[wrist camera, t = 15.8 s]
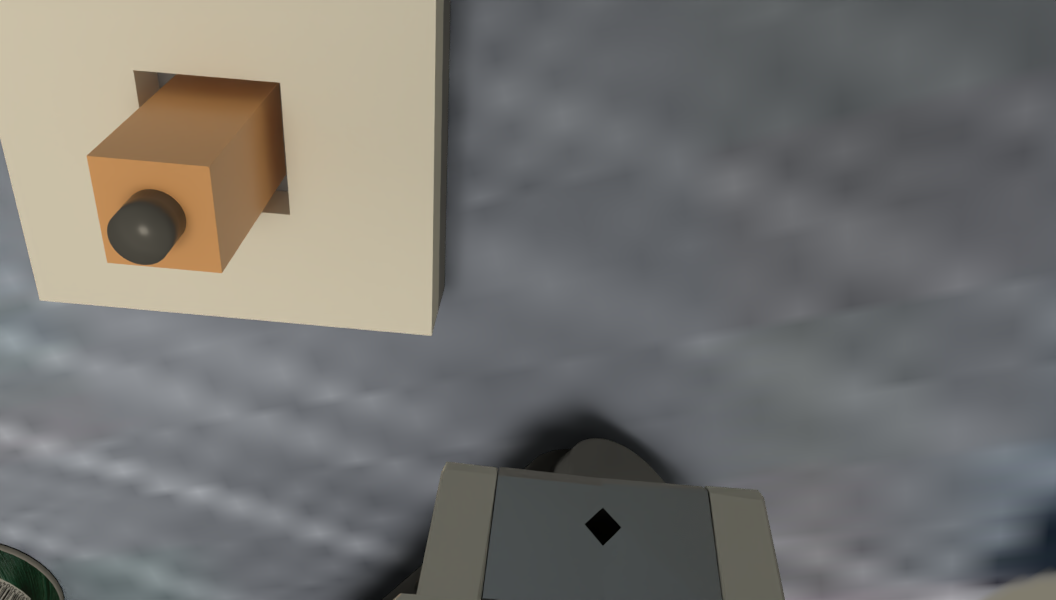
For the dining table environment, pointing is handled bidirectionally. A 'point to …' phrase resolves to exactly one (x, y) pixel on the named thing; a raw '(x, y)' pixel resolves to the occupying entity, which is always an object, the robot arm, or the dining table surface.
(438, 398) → the dining table surface
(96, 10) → the socket block
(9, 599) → the canned tomato
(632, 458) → the muzzle brake
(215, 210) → the plug
